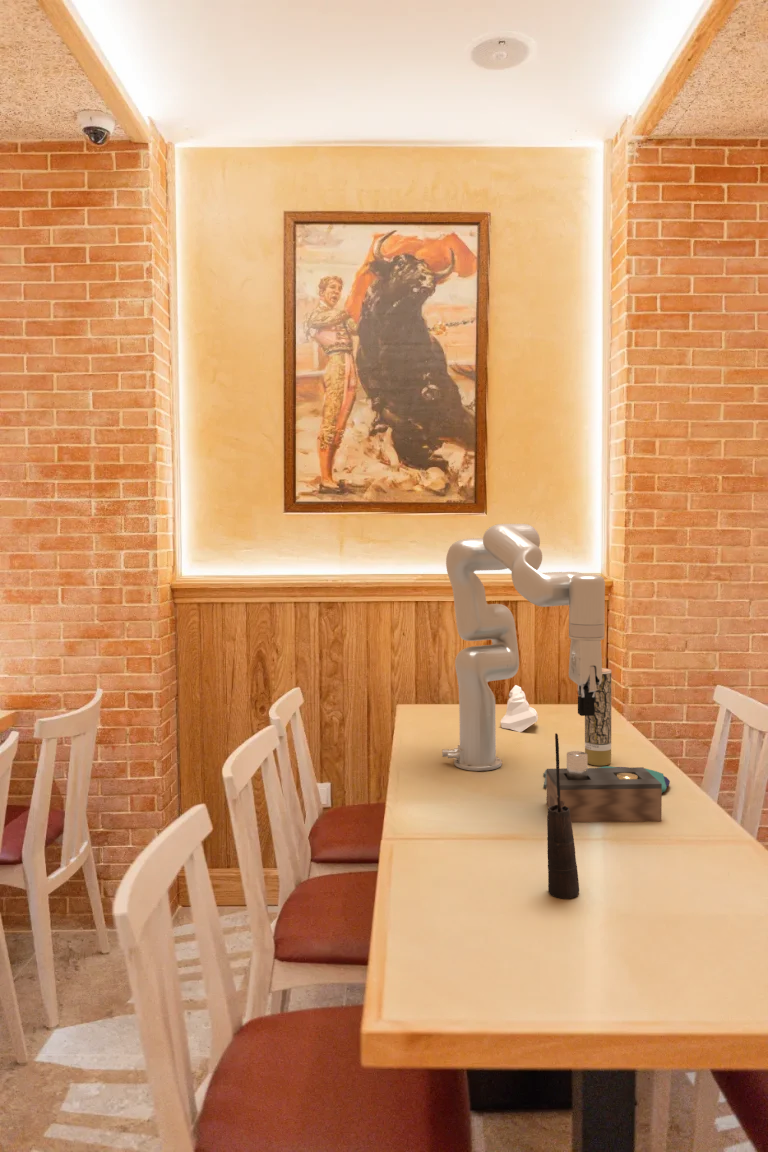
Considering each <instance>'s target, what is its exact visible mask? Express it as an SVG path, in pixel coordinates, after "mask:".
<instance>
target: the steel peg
mask: <svg viewBox="0 0 768 1152" xmlns="http://www.w3.org/2000/svg"><path fill="white" fill-rule="evenodd" d="M566 768H567V779H568V780H587V768H588V763H587V753H585V751H579V750H577V751H576V750H573V751H572V750H571V751H567V752H566Z"/></svg>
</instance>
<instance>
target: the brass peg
mask: <svg viewBox="0 0 768 1152" xmlns="http://www.w3.org/2000/svg"><path fill="white" fill-rule="evenodd" d="M617 778H618V779H638V776H637V775H635V774H632V773H619V774H617Z"/></svg>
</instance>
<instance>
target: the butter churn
mask: <svg viewBox="0 0 768 1152" xmlns="http://www.w3.org/2000/svg"><path fill="white" fill-rule="evenodd" d="M554 740H555V743H554V744H555V745H554V746H555V767H556V768H555V769H556V772H557V773H556V774H557V795H558V797H557V802H558V805H554V806H550V807H549V806H548V807H547V819H546V820H547V821H546V822H547V824H546V825H547V826H546V828H547V829H546V830H547V832H546V833H547V837H546V838H547V840H546V841H547V845H546V846H547V850H546V851H547V853H546V854H547V873H548V874H547V876H548V877H547V879H548V880H547V881H548V882H547V883H548V885H547V886H548V887H547V889H548V891H547V892H548V894H549V895H550V896H551V897H554V898H556V899H558V898H559V899H563V900H569V899H573V898H577V897H578V896H579V893H580V882H579V874H578V873H579V872H578V864H577V859H576V858H577V857H576V846H575V839H574V832H573V824H572V823H573V822H571V816H570V810H569V808H568V807H566V806H564V801H560V779H559V778H560V775H559V769H560V746H559V735H558V733H557V732H556V733H554ZM563 806H564V807H563Z"/></svg>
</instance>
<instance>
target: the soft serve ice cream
mask: <svg viewBox="0 0 768 1152" xmlns="http://www.w3.org/2000/svg"><path fill="white" fill-rule="evenodd" d="M526 696H527V695H526V693H525V691H523V690H522V687H521V686H519V685H517V684H515V685H514V686H513V687H512V689H511V690H510V691H509V694H508V697H509V698H508V700H507V705H506V713H505V714H503V715H504V716H503V717H501V719H500V726H501V729H508V730H512V731H514V732H518V733H522V732H524V731H525V730H526V729H528V728H529V727H532V725H533V724H535V723H537V722H538V719H539V714H538V712H537V711H536V709H535V708H533V707H531V706H530V704H529V702H528V700H527V697H526Z"/></svg>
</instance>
